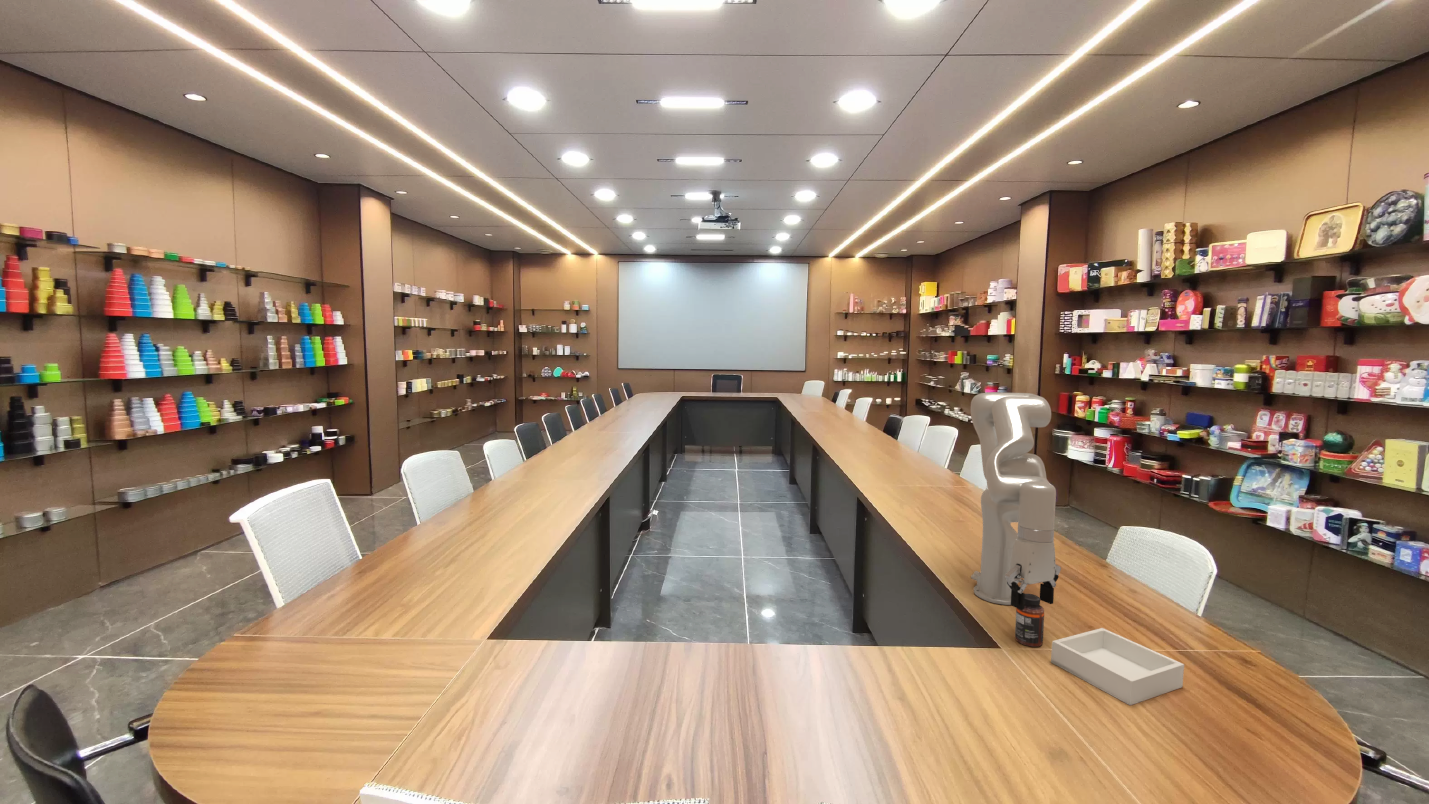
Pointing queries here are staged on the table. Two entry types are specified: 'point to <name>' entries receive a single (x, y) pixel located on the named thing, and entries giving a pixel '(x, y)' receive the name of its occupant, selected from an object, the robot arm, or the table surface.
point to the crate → (1117, 665)
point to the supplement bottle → (1030, 622)
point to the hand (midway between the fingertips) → (1032, 604)
